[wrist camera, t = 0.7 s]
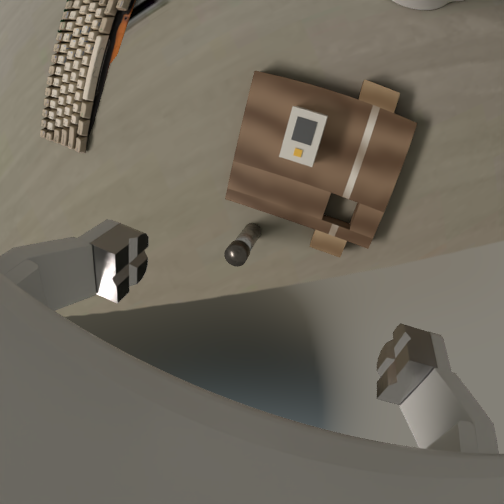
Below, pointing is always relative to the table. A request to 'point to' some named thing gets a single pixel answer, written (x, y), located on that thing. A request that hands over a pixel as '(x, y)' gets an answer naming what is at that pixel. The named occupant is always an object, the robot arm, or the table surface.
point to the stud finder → (303, 135)
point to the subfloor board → (321, 158)
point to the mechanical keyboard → (82, 68)
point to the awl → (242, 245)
